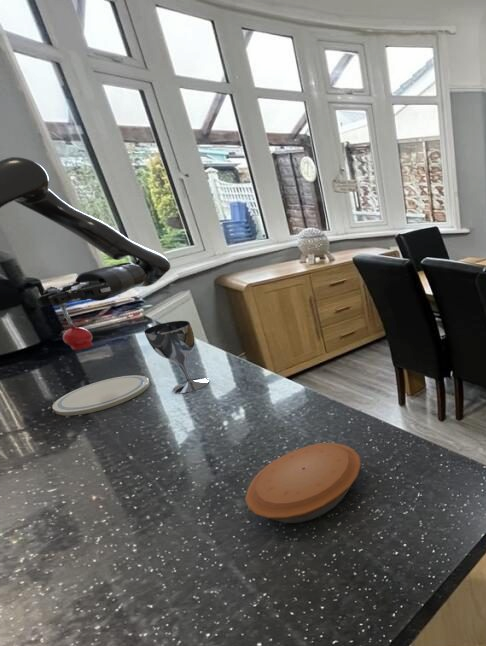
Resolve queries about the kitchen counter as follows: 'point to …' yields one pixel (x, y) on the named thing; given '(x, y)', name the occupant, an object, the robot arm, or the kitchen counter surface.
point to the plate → (101, 395)
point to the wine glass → (176, 349)
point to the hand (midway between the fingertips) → (46, 301)
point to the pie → (303, 483)
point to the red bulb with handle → (73, 329)
